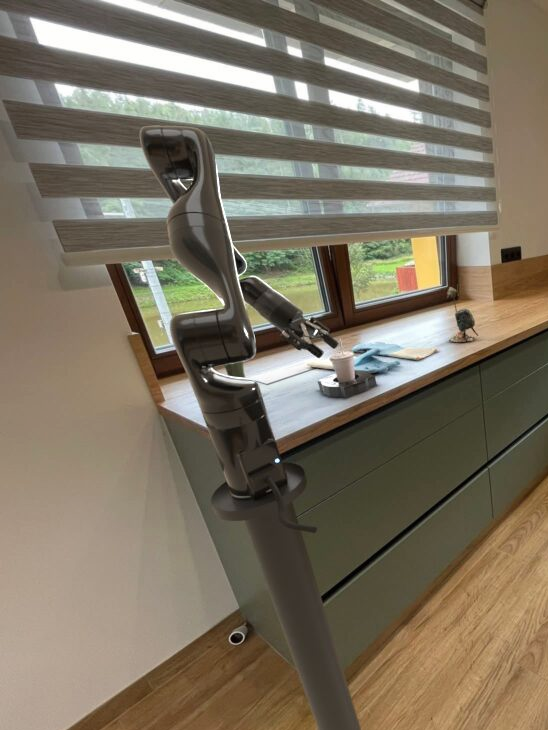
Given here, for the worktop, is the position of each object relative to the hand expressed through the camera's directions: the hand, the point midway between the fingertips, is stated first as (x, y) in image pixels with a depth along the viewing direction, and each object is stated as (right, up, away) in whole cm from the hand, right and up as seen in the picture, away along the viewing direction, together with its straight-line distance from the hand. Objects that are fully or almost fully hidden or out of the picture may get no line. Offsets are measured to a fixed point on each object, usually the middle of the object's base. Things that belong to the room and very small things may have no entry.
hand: (329, 350), depth 115 cm
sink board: (+4, -10, +4) cm, 11 cm away
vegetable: (-21, -5, -7) cm, 23 cm away
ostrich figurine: (+32, +7, +43) cm, 54 cm away
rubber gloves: (+3, -1, +28) cm, 28 cm away
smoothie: (+4, -10, +4) cm, 12 cm away
